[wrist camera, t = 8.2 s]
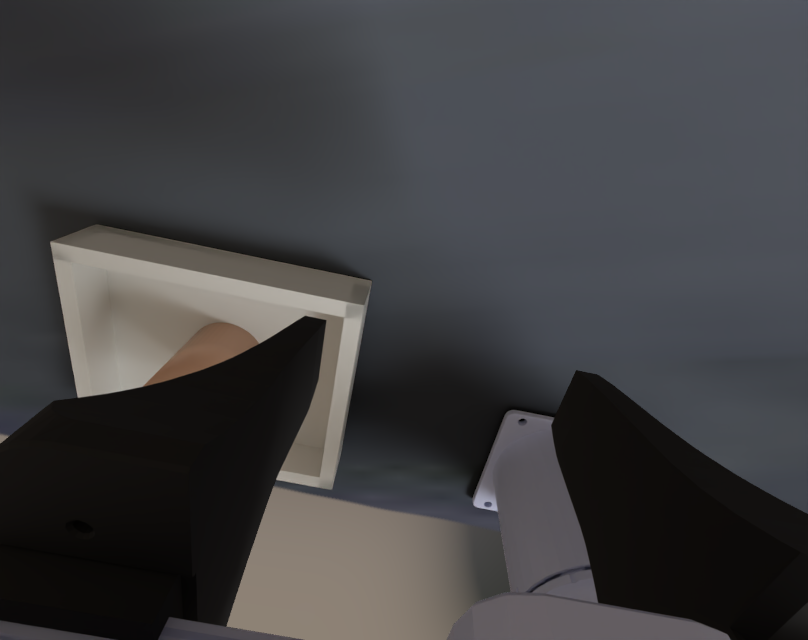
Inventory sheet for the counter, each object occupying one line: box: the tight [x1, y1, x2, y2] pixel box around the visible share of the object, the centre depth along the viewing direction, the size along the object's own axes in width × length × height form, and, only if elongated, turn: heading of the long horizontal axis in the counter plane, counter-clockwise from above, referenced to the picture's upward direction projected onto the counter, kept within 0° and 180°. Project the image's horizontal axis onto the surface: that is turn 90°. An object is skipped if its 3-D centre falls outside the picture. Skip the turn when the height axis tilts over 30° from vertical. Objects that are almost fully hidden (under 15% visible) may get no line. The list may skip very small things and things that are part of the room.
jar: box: [144, 322, 259, 386], centre depth 21 cm, size 4×4×7 cm
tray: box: [50, 224, 372, 490], centre depth 24 cm, size 14×12×3 cm
